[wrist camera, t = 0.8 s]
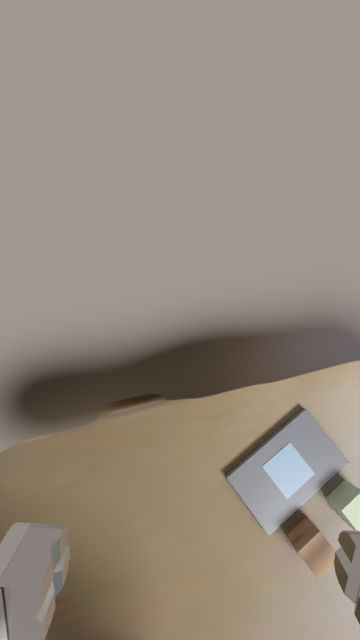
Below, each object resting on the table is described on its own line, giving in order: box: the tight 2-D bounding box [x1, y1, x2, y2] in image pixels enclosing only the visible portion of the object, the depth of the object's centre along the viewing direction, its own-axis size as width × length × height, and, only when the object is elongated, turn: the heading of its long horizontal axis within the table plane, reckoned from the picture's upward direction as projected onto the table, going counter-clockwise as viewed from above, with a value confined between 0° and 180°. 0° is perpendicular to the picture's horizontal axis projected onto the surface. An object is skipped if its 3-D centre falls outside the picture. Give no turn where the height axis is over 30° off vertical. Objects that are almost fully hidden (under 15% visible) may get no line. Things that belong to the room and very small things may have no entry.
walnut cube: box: [286, 516, 335, 580], centre depth 48 cm, size 5×5×5 cm
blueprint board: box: [226, 408, 349, 536], centre depth 51 cm, size 12×20×1 cm, turn 128°
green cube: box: [326, 480, 360, 531], centre depth 49 cm, size 5×5×5 cm
